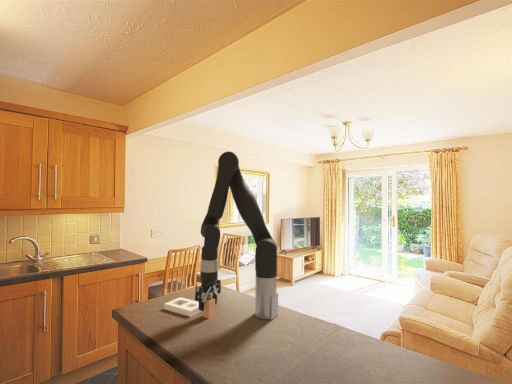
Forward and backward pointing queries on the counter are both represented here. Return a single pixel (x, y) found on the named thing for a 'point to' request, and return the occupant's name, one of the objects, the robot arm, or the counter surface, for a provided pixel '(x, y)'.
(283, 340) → the counter surface
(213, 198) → the robot arm
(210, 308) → the block
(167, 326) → the counter surface
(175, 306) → the power strip
